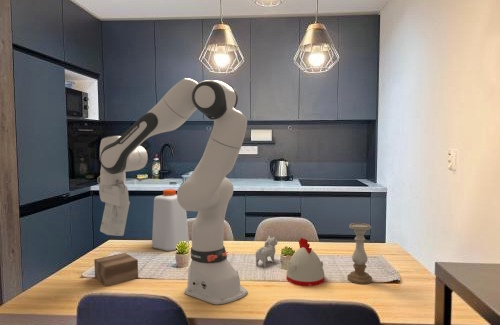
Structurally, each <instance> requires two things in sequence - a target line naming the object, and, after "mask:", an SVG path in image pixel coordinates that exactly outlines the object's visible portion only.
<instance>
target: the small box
mask: <svg viewBox="0 0 500 325" xmlns="http://www.w3.org/2000/svg"><path fill="white" fill-rule="evenodd" d="M130 205H131V201H129V204H128V206H124V209H123V213H122V218H117V217H116V213H117V206H115V205H113V204H111V203H108V202H106V204H104V210H103V214H102V218H101V219H102V220H101V224H100V227H99V228H100V229H99V232H101V233H103V234H104V235H107V236H118V237H123V236H124V234H125V229H126V226H127V225H126V224H127V221H128V220H127V219H128V213H129V210H130V209H129V208H130Z"/></svg>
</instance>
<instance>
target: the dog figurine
mask: <svg viewBox="0 0 500 325" xmlns="http://www.w3.org/2000/svg"><path fill="white" fill-rule="evenodd" d="M277 245H278V240H277V238H276V237H275V236H273V237H271V235H268V237H267V238H266V241H265V242H264V245H263V247H262V246H261V247H259V249H257V250H256V251H255V266H259V261H261V262H262V263H263V264H262V265H263V268H266V267H267V262H268V258H269V257H270V259H271V262H272V263H273V264H274V263H275V264H276V260H275V254H276V246H277Z"/></svg>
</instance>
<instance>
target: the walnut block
mask: <svg viewBox="0 0 500 325" xmlns="http://www.w3.org/2000/svg"><path fill="white" fill-rule="evenodd" d="M93 262H94V263H93V264H94V278H95V279H96V280H98V281H99V282H100V283H101V284H103V285H104V287H110V286H112V285H117V284H121V283H125V282H128V281H133V280H136V279H137V280H138V279H139V265H138V264H139V263H138V259H137V258H135V257H133V256H132V255H129V254H128V253H126V252H122V253H118V254H113V255H109V256H103V257H99V258H95V259H94V260H93Z"/></svg>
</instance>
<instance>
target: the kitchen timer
mask: <svg viewBox="0 0 500 325" xmlns="http://www.w3.org/2000/svg"><path fill="white" fill-rule="evenodd" d="M298 245H299V249H297V250H296V251H295V252H294V253H293V255H292V256H291V257H290V260H287V263H286V264H287V266H286V281H287V282H288V283H290V284H292V285H294V286H295V285H296V286H300V287H301V286H302V287H316V286H319V285H321V284H324V282H325V272H324V268H323V267H324V262H323V260H320V257H319V256H318V254H317V253H316V252H315V251H314V250H313V249H312V247H311V246H310V243H308V239H306V238H303V237H300V239H299V240H298Z"/></svg>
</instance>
